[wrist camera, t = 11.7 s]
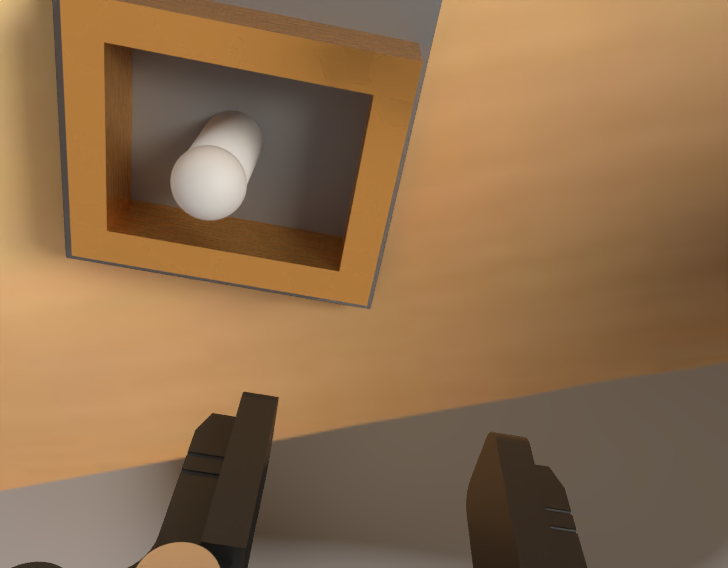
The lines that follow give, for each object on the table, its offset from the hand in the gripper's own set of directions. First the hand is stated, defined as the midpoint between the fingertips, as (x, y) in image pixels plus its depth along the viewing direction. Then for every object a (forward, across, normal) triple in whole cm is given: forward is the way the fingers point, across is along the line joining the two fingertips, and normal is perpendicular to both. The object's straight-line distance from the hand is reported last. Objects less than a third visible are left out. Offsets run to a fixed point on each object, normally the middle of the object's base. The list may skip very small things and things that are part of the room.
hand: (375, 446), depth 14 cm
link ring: (+16, +6, 0) cm, 17 cm away
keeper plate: (+17, +6, -2) cm, 19 cm away
